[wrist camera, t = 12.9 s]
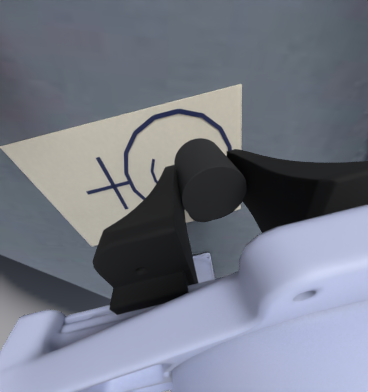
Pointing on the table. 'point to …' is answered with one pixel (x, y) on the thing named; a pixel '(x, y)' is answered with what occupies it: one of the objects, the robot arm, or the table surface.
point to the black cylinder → (208, 180)
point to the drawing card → (123, 156)
